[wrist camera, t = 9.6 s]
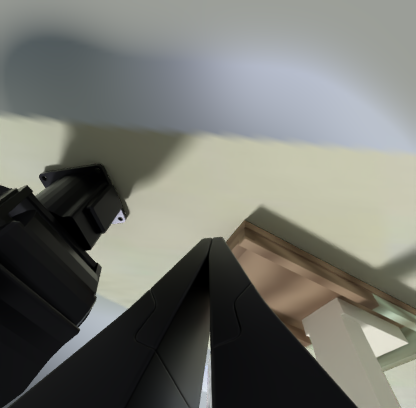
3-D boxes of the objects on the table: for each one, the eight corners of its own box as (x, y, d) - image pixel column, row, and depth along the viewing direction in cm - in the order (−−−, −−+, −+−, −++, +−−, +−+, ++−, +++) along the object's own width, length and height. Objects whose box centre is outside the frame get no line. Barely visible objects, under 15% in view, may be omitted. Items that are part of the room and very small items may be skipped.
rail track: (190, 283, 29) (186, 312, 26) (244, 220, 23) (247, 247, 20) (349, 349, 36) (362, 380, 32) (423, 313, 30) (448, 346, 26)
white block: (301, 320, 30) (334, 434, 21) (336, 297, 28) (392, 418, 18) (360, 345, 33) (413, 458, 24) (398, 327, 30) (475, 447, 21)
